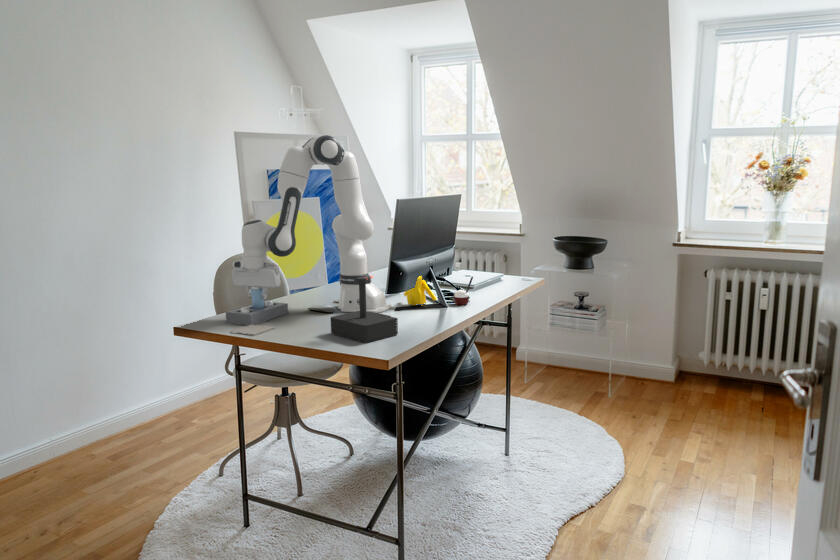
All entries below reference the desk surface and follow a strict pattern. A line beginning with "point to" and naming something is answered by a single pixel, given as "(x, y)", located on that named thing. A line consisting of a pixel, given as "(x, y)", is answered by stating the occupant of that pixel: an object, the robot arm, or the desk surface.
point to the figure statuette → (419, 293)
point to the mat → (253, 329)
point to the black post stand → (364, 321)
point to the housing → (256, 314)
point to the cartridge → (257, 298)
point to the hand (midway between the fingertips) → (257, 297)
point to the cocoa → (462, 296)
